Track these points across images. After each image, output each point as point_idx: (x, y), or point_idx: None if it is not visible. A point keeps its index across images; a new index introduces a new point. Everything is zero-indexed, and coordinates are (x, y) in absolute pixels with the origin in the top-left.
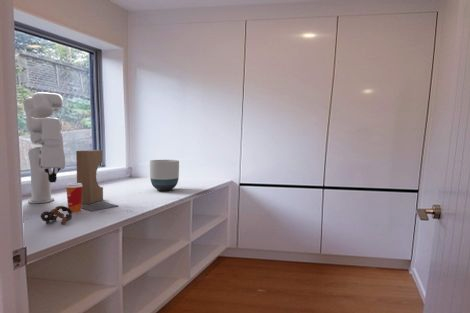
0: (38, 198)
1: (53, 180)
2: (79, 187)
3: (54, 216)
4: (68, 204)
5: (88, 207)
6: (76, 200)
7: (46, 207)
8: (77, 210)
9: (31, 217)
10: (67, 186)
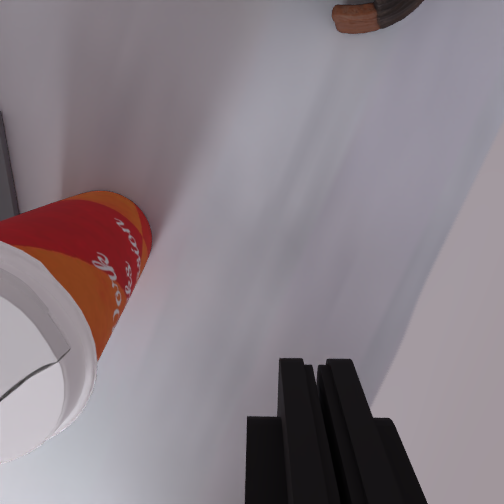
0: None
1: (325, 384)
2: None
3: (364, 7)
4: (139, 255)
5: None
6: (63, 207)
7: (214, 486)
8: (94, 191)
9: (406, 279)
10: (76, 345)
